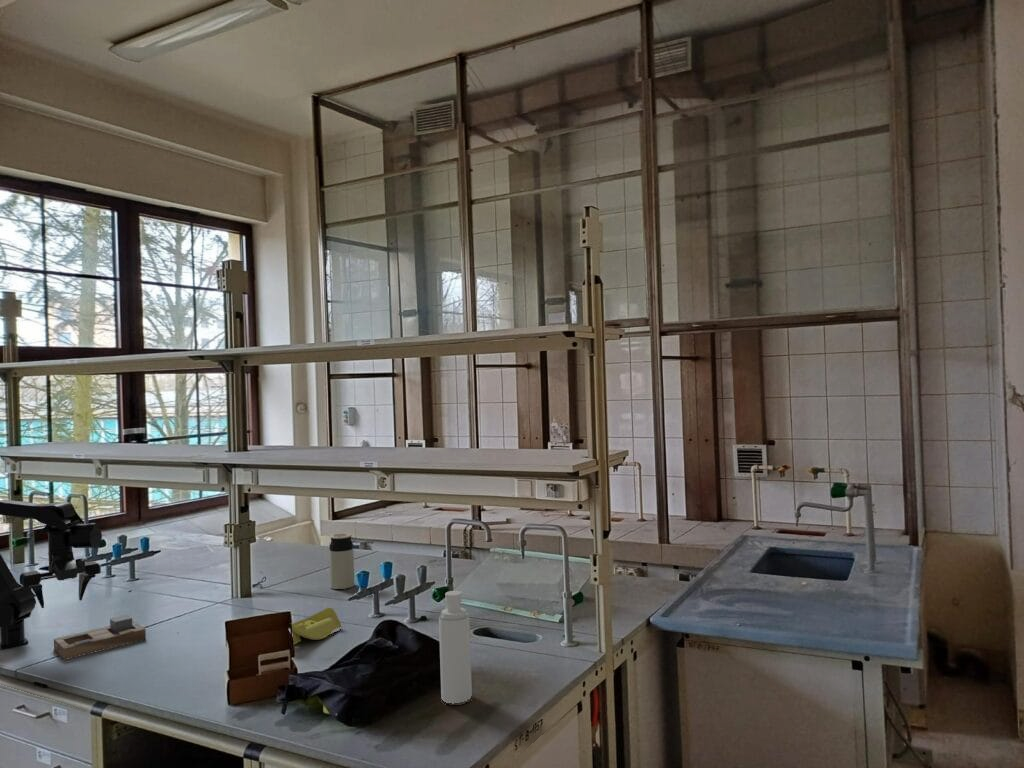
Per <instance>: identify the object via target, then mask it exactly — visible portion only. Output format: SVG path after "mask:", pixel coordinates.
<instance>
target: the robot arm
mask: <svg viewBox="0 0 1024 768" xmlns="http://www.w3.org/2000/svg"><path fill="white" fill-rule="evenodd" d="M0 516H6V517H15V518H23V519H31V520H34V521H35V520H36V521H37V522H38V523H40V524H43V525H45V526H44V527H43V528H42V529H41V530H39V533H40V534H47V537H48V539H47V541H48V546H47V547H48V548H47V549H48V553H47V555H48V571H47V572H41V573H40V572H39V571H38V570H32V571H26V572H22V573H21V574H20V575H19V583H18V582H17V580H16V579H15V577H14V575H13V574H12V571H11V570H10V568H9V566H8V565H7V563H6V561H5V559H4V558H3V556H2V554H1V553H0V650H5V649H9V648H13V647H17V646H23V645H26V644H29V640H28V639H27V638H26V635H25V619H28V618H30V617H31V615H32V612H33V610H34V609H35V608H36V603H37V601H38V602H39V606H40V607H41V609H44V608H45V601H44V594H43V584H42V583H41V582H42V581H45V580H49V579H56V580H57V581H65V580H69V579H76V578H77V577H78V600H79V602H80V601H83V597H84V595H85V592H86V589H87V586H88V584H89V583H90V581H91V579H92V578H95V577H96V575H99V574H101V572H102V571H101V564H100V563H98V562H96V561H94V560H92V561H86V560H85V558H84V557H81V558H77V559H75V557H74V552H73V549H97V548H98V547H99V546H100V545H101V542H102V539H103V533H102V531H101V529H100V527H99V526H98V523H97V522H91V523H85V521H84V520H83V519H82V517H80V515H79V514H78V512H77V510H76V509H75V507H74V505H73V503H71V502H68V501H61V502H50V503H37V502H36V503H35V502H28V501H26V502H25V501H19V500H11V499H4V498H1V497H0ZM36 598H37V600H36Z"/></svg>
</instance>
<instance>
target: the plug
mask: <svg viewBox="0 0 1024 768" xmlns="http://www.w3.org/2000/svg"><path fill="white" fill-rule="evenodd" d="M132 621H133V617H131V616H130V615H128V614H125V615H120V616H116V617H112V618H110V619H109V624H110V625H109V626H110V632H111V633H112V634H115V633H118V632H120V631H124V630H128V629H132Z"/></svg>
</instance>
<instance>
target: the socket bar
mask: <svg viewBox="0 0 1024 768" xmlns="http://www.w3.org/2000/svg"><path fill="white" fill-rule="evenodd" d="M146 631H147V630H146V628H145V627H144V626H142V625H140V624H139V623H138V622H135V621H134V620H132V629H128V630H124V631H120V632H118V633H115V634H112V633H111V632H110V625H107V626H104V627H99V628H94V629H90V630H86V631H81V632H77V633H72V634H70V635H69V634H68V635H65V636H61V637H57V638H53V650H54V652H55V653H57V654H58V655H59V656H60V657H61V656H62V657H63V658H64V659H66V660H68V659H67V658H70V659H72V658H71V657H74V658H76V657H75V656H78V657H80V656H79V655H82V656H84V655H83V654H86V655H89V654H88V653H90V654H92V653H91V652H94V653H96V652H95V651H98V652H100V651H99V650H102V651H104V650H103V649H106V650H108V649H107V648H110V649H112V648H111V647H114V648H116V647H115V646H118V647H121V646H120V645H122V646H124V645H123V644H126V645H128V644H127V643H130V644H132V643H131V642H134V643H136V642H135V641H138V642H141V641H140V640H142V641H144V640H143V639H146V638H147V637H146V633H147V632H146ZM62 657H61V658H62ZM63 658H62V659H63ZM64 659H63V660H64Z"/></svg>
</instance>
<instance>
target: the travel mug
mask: <svg viewBox="0 0 1024 768" xmlns="http://www.w3.org/2000/svg"><path fill="white" fill-rule="evenodd" d="M352 536H353V534H352V533H350V532H338V533H337V532H336V533H333V534H330V535H329V538H330V544H329V571H330V572H329V574H330V589H332V588H333V589H332V590H335V589H344V590H347V589H346V588H349V589H351V588H353V587H355V563H354V562H355V561H354V560H355V558H354V542H353V541H352ZM350 587H351V588H350Z"/></svg>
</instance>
